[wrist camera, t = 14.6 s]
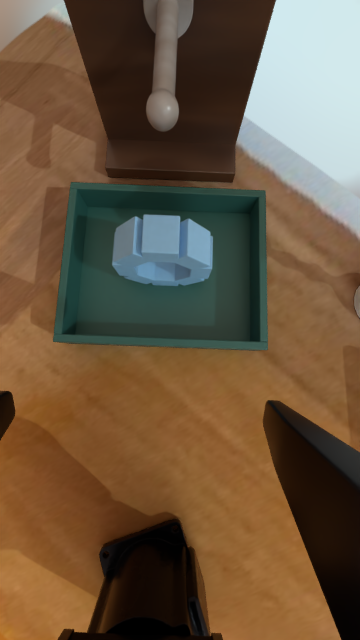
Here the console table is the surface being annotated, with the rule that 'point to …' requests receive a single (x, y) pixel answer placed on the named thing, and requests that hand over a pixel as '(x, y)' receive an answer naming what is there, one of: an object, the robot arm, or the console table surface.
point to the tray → (155, 300)
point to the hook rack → (171, 81)
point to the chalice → (357, 301)
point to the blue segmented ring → (162, 250)
